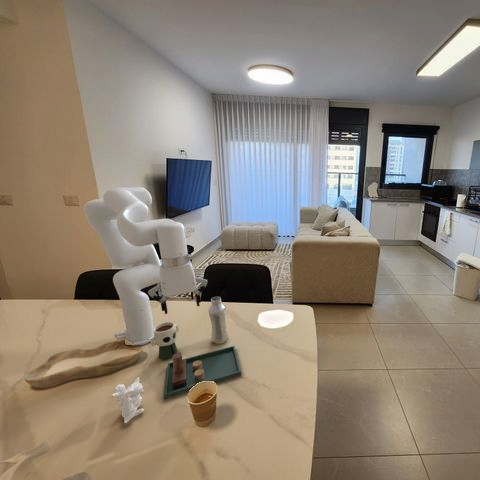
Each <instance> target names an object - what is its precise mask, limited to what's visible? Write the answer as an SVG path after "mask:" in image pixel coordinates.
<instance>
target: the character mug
mask: <svg viewBox="0 0 480 480" xmlns="http://www.w3.org/2000/svg"><path fill="white" fill-rule="evenodd" d="M179 331H180V327H179V324H178V323H174V322H173V321H164V322H161V323H158V324H157V325H154V329H153V333H154V337H153V338H151V342H150V346H151V347H155V346H157V347H158V359H160V360H162V361H168V360H171V359H173V358H172V356H173V355H174V354H176V353H179V352H178V351H179V350H178V348H177V345H176V340H177V339H178V334H177V333H179Z"/></svg>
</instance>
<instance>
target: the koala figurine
mask: <svg viewBox="0 0 480 480" xmlns="http://www.w3.org/2000/svg"><path fill="white" fill-rule="evenodd" d="M114 390H115V392H114V393H113V392H112V393H111V394H110V396H111V397H113V398H115V397H116V400H117V402H118V406H119V409H120V411H121V416H122V417H123V424H127V423H128V422H129V421H130V420H131V419H133V418H134V417H136V416H139V415H141V414H142V413H144V411H145V409H144V407H142V408H139V407H140V406H141V404H142V401H143V397H142V396H141V394H144V392H145V389H144V388H143V383H140V377H139V376H138V377H137V378H135V380H134V381H133V383H131V384H129V386H127V388H126V385H125V384H122V383H120V384H117V385H116V386H115V388H114ZM138 408H139V409H138Z"/></svg>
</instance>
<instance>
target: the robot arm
mask: <svg viewBox="0 0 480 480" xmlns="http://www.w3.org/2000/svg"><path fill="white" fill-rule="evenodd" d="M152 204H153V198H152V195H151V193H150V192H149V191H148V190H147V189H146V188H145V187H142V186H125V187H124V186H122V187H120V186H119V187H113V188H109V189H108V190H106V191H105V192H104V193H103V196H102V198H97V199H92V200H88V201H87V202H86V203H85V204H84V205H83V213H84V216H85V219H86V221H87V223H88V224H89V225H90V227H91V228H92V229H93V230H94V232H95V233H96V234H97V236H98V237H99V239H100V241H101V244H102V246H103V248H104V251H105V253H106V255H107V258H108V260H109V262H110V264H111V265H112V266H113V267H117V268H118V267H119V268H121V267H125V266H130V265H133V264H137V263H141V262H143V263H142V264H139V265H134V266H131V267H127V268H124V269H121V270H119V271H118V272H116V273H115V274H114V275H113V277H112V283H113V285H114V288H115V290H116V293H117V295H118V298H119V301H120V305H121V311H122V315H123V320H124V325H125V330H123V331H118V332H115V333H114V337H115V338H116V340H117V341H118V340H122V339H123V340H124V339H126V340H128V341H129V342H130V343H132V344H136V345H139V346H143V345H147V344H148V343H151V338H153V337H154V333H153V329H154V327H155V323H154V318H153V317H154V316H153V312H152V307H151V301H150V297H151V298H152V299H153V300H154V301H156V302H158V303H159V304H160V307H161V311H162V312H164V315H168V305H167V300H166V299H167V298H168V297H174V296H179V295H183V294H188V293H192V292H193V293H194V296H195V303H196V307H201V305H200V303H202V297H201V296H202V293H203V292H204V291H205V289H206V288H207V286H208V279H206V278H202V277H198V276H196V273H195V270H194V269H195V268H194V266H193V263H192V261H191V259H192V260H193V259H194V254H189V252H188V246H187V238H186V231H185V225H184V224H183V223H182V222H180V221H174V220H173V219H171V218H159V219H151V220H146V219H147V217H148V215H149V211H150V210H149V209H150V207H151V206H152ZM113 220H116V222H113ZM154 244H158V246H159V252H160V258H159V255H158V253H157V251H156V248H155V245H154ZM160 259H161V261H160ZM197 283H200V284H201V285H200V286H199V287H197ZM154 285H155V286H154ZM150 286H153V287H152V288H151V289H149V290H148V291H147V292H148V293H145V292H144V291H141V290H143V289H145V288H148V287H150ZM159 290H160V291H161V295H159V294H157V293H156V292H158V291H159ZM149 296H150V297H149ZM139 346H138V347H139Z"/></svg>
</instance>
